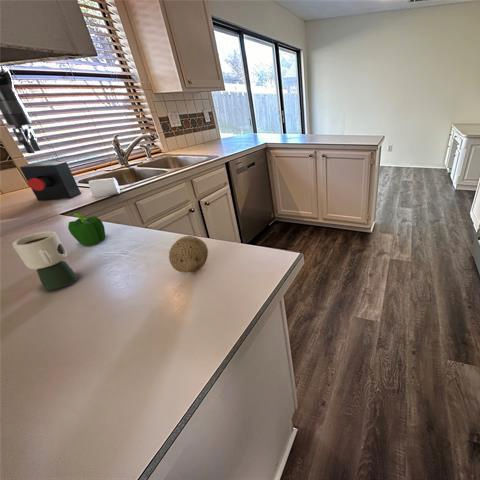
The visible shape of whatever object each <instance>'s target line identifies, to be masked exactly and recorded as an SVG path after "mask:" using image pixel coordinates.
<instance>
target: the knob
mask: <svg viewBox="0 0 480 480" xmlns="http://www.w3.org/2000/svg"><path fill="white" fill-rule="evenodd" d="M50 184H51V180H50V179H49V178H47V177H41V178H32V179H29V181H28V182H27V185H28V187H29V188H32V189H34V190H36V191H41V190H43V189H45V187H46V186H48V185H50ZM32 189H31V190H32Z"/></svg>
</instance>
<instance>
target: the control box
mask: <svg viewBox="0 0 480 480" xmlns="http://www.w3.org/2000/svg"><path fill="white" fill-rule="evenodd" d="M19 169H20V171H21V172H22V174H23V176H24V178H25V180H26V182H27V183H28V181H29V179H32V178H41V177H47V178H49V179H50V180H51V184H50V185H48V186H46V187H45V189H43V190H41V191H36V190H34V189H32V188H31V187H30V188H31V191H32V192H33V194H34V196H35V198H36V200H37V201H38V202H43V201H44V202H45V201H57V200H71V199H74V198H76V197H77V196H80V195H82V192H81V190H80V188H79V185H78V183H77V181H76V179H75V177H74V175H73V173H72V171H71V169H70V166H69V164H68V162H67V161H53V162H52V161H51V162H37V163H35V162H34V163H30V164H26V165H22V166H19Z"/></svg>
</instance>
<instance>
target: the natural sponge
mask: <svg viewBox="0 0 480 480" xmlns="http://www.w3.org/2000/svg"><path fill="white" fill-rule="evenodd" d="M168 254H169V255H168V260H169V263H170V265H171V267H172V268H173V269H174V270H175V271H177V272H181V273H191V274H192V273H193V274H194V273H197V272H198V271H200V270H201V269H202V268H203V267H204V266H205V264H206V262H207V260H208V255H209V249H208V246H207V244H206V243H205V242H204V241H203V240H202V239H201V238H198V237H197V236H192V235H185V236H182V237H180V238H179V239H177V240H176V241H175V242H174V243H173V244H172V245H171V247H170V249H169V251H168Z"/></svg>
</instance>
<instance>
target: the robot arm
mask: <svg viewBox="0 0 480 480" xmlns="http://www.w3.org/2000/svg"><path fill="white" fill-rule="evenodd" d="M0 112H1V114H2V116H3V118H4V120H5V122H6V124H7V125H9V126H14V127H13V128H12V131H13V133H14V136H15V137H16V139H17V142H18V143H19V144H21V145H23V148H24V149H25V151H26V153H27V154H35V153H36V152H39V151H41V147H40V145H39V143H38V137H37V135H36V133H35V131H34V129H33V127H32V126H31V125H32V124H33V123H32V120H31V118H30V115H29V114H28V111H27V110H26V108H25V105H24V104H23V102H22V101H21V100H20V98H19V96H18V93H17V91H16V90H15V87H14V82H13V78H12V75H11V72H10V70H9V68H8V67H7V66H6V64H5V65H1V66H0Z"/></svg>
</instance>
